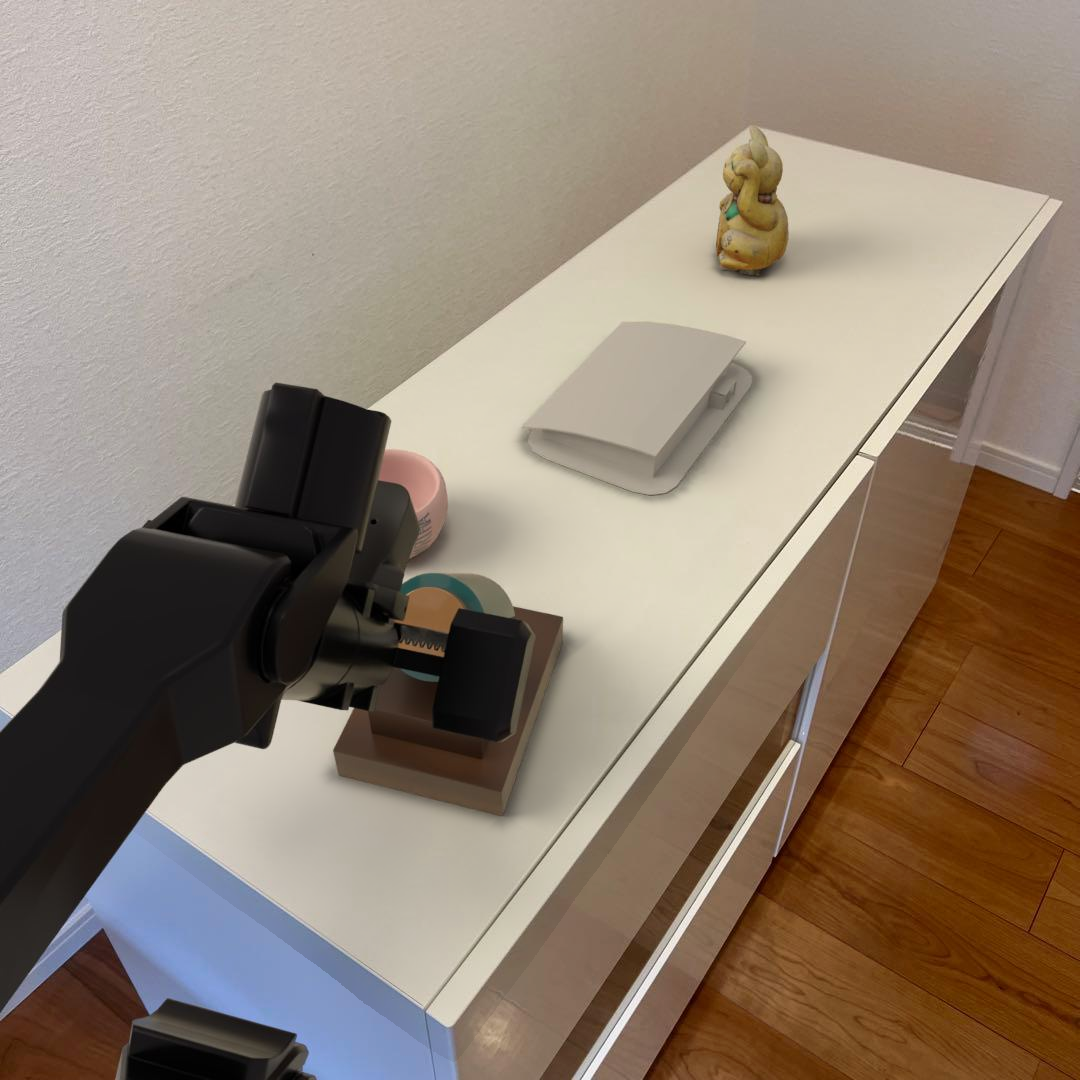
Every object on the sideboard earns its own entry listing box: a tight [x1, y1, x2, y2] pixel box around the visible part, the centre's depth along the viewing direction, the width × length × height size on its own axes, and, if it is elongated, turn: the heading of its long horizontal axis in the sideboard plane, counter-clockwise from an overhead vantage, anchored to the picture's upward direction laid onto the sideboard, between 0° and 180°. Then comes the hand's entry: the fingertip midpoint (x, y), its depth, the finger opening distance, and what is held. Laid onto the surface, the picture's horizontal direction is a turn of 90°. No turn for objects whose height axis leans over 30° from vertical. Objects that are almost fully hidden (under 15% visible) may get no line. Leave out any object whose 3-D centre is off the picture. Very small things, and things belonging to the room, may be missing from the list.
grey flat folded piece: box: [521, 321, 753, 496], centre depth 104 cm, size 15×23×4 cm, turn 150°
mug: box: [378, 448, 449, 559], centre depth 91 cm, size 12×10×6 cm
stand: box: [332, 606, 564, 817], centre depth 77 cm, size 16×12×6 cm
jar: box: [395, 572, 515, 682], centre depth 74 cm, size 11×7×11 cm, turn 164°
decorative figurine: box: [715, 124, 790, 277], centre depth 120 cm, size 10×8×15 cm
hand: (394, 657), depth 64 cm, fingers open, 9 cm apart
